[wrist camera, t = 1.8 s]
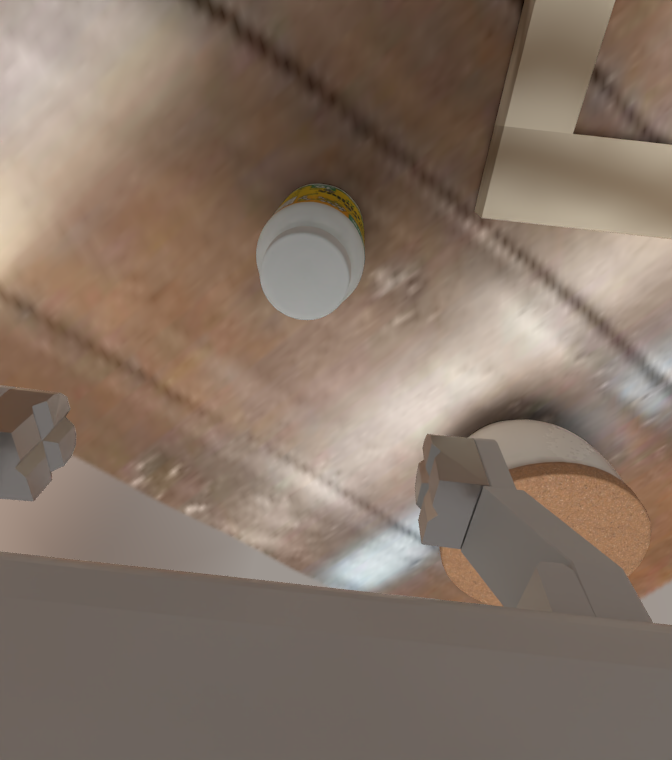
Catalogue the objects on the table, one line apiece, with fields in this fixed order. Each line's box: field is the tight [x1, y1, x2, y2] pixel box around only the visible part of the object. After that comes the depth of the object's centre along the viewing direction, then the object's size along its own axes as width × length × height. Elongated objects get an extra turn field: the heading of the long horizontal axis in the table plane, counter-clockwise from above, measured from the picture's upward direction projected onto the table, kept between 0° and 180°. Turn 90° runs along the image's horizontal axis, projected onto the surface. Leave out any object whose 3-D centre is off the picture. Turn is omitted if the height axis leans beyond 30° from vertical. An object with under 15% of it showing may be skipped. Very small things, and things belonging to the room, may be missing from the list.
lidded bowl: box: [440, 419, 651, 607], centre depth 32 cm, size 13×13×11 cm
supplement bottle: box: [256, 184, 365, 320], centre depth 24 cm, size 5×5×10 cm
